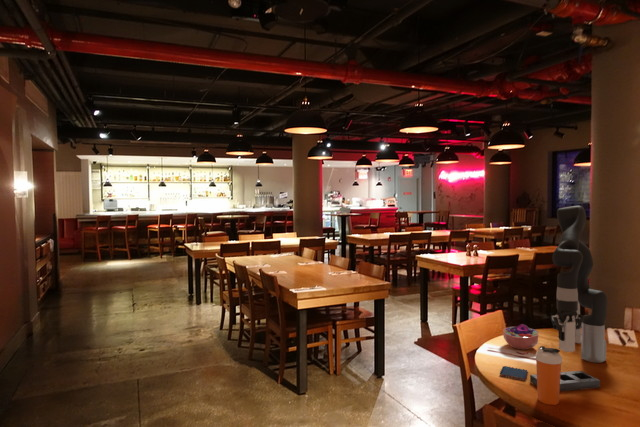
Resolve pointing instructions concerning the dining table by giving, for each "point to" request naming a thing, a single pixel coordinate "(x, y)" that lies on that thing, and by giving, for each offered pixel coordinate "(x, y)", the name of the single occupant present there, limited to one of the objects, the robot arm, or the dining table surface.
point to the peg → (568, 338)
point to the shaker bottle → (548, 375)
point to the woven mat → (514, 373)
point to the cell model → (521, 336)
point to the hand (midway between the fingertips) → (566, 339)
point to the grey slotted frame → (573, 381)
